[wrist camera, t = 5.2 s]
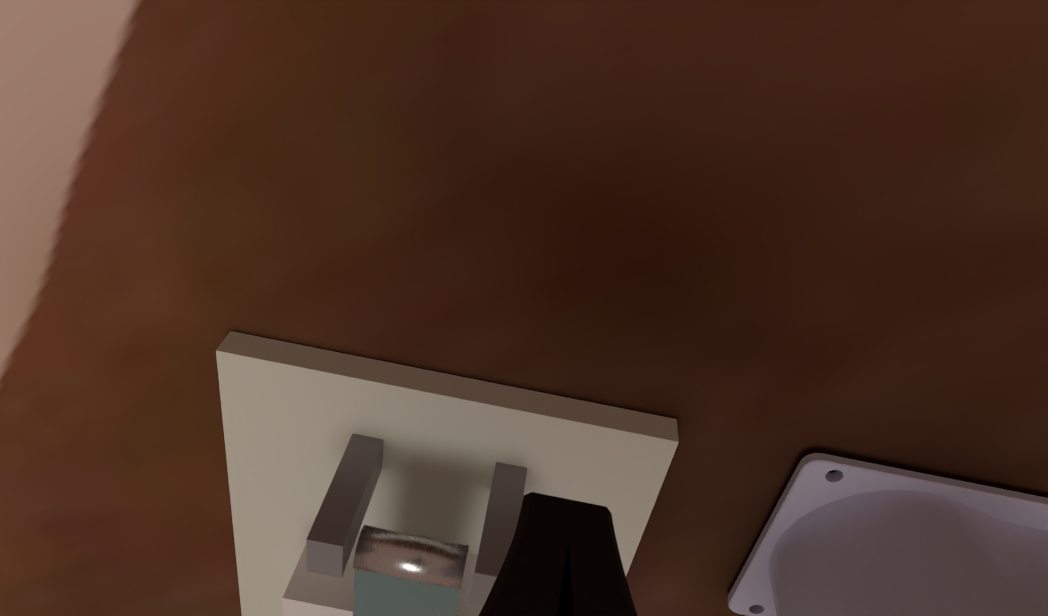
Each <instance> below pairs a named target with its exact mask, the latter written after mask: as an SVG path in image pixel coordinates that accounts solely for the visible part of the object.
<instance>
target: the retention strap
mask: <svg viewBox="0 0 1048 616" xmlns="http://www.w3.org/2000/svg"><path fill="white" fill-rule="evenodd" d="M468 549H469V545H464V544H459V543H454V542H449V541H444V540H439V539H434V538H429V537H424V536H419V535H414V534H409V533H404V532H399V531H394V530H389V529H383V528H378V527H373V526H368V525H364V526H363V528H362V530H361V533H360V535H359V539H358V542H357V546H356V550H355V555H354V561H353V569H355V576H354V597H353V616H456V612H457V607H458V601H459V596H460V591H461V585H462V580H463V575H464V569H465V564H466V559H467V554H468Z"/></svg>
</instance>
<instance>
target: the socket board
mask: <svg viewBox="0 0 1048 616" xmlns="http://www.w3.org/2000/svg"><path fill="white" fill-rule="evenodd" d="M216 356H217V366H218V376H219V387H220V397H221V407H222V417H223V428H224V438H225V448H226V458H227V469H228V479H229V489H230V499H231V509H232V520H233V530H234V540H235V550H236V561H237V571H238V581H239V591H240V602H241V612H242V616H353V597H354V576H355V569H353V561H354V555H355V550H356V546H357V542H358V539H359V535H360V533H361V530H362V528H363V526H364V525H368V526H373V527H378V528H383V529H389V530H394V531H399V532H404V533H409V534H414V535H419V536H424V537H429V538H434V539H439V540H444V541H449V542H454V543H459V544H464V545H469V549H468V554H467V559H466V564H465V569H464V575H463V580H462V585H461V591H460V596H459V601H458V607H457V612H456V616H478V615H479V614H480V612H481V610H482V608H483V606H484V604H485V602H486V600H487V597H488V595H489V593H490V591H491V589H492V587H493V585H494V582H495V580H496V578H497V576H498V574H499V572H500V569H501V567H502V565H503V563H504V560H505V558H506V555H507V553H508V550H509V548H510V545H511V543H512V540H513V537H514V534H515V530H516V526H517V522H518V518H519V514H520V509H521V505H522V501H523V497H524V495H526V494H528V493H531V492H535V493H540V494H545V495H550V496H555V497H560V498H565V499H570V500H575V501H580V502H585V503H590V504H595V505H601V506H606V507H607V508H608V509H609V511H610V512H611V514H612V520H613V526H614V531H615V536H616V540H617V545H618V549H619V553H620V557H621V561H622V565H623V569H624V573H625V576H626V575H627V572H628V570H629V567H630V565H631V562H632V560H633V557H634V555H635V552H636V550H637V547H638V545H639V542H640V539H641V537H642V534H643V532H644V529H645V527H646V524H647V522H648V519H649V517H650V514H651V511H652V509H653V506H654V504H655V501H656V499H657V496H658V494H659V491H660V489H661V486H662V483H663V481H664V478H665V476H666V473H667V471H668V468H669V466H670V463H671V461H672V458H673V456H674V453H675V450H676V448H677V445H678V443H679V439H678V428H677V419H673V418H668V417H663V416H658V415H653V414H648V413H643V412H638V411H633V410H628V409H623V408H618V407H613V406H608V405H602V404H597V403H592V402H587V401H582V400H577V399H572V398H567V397H562V396H557V395H552V394H547V393H542V392H537V391H532V390H527V389H521V388H516V387H511V386H506V385H501V384H496V383H491V382H486V381H481V380H476V379H471V378H466V377H461V376H456V375H451V374H446V373H440V372H435V371H430V370H425V369H420V368H415V367H410V366H405V365H400V364H395V363H390V362H385V361H380V360H375V359H370V358H365V357H360V356H354V355H349V354H344V353H339V352H334V351H329V350H324V349H319V348H314V347H309V346H304V345H299V344H294V343H289V342H284V341H279V340H273V339H268V338H263V337H258V336H253V335H248V334H243V333H238V332H233V331H230V333H229V334H228V335H227V337H226V338H225V339H224V341H223V342H222V343H221V345H220V346H219V347H218V349H217V350H216Z"/></svg>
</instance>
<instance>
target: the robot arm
mask: <svg viewBox="0 0 1048 616" xmlns="http://www.w3.org/2000/svg"><path fill="white" fill-rule="evenodd" d="M832 470H837V471H836V472H833V473H828V472H829V471H832ZM727 599H728V606H729V608H730V610H732V611H733V612H735V613H738V614H742V615H747V616H1048V498H1046V497H1040V496H1035V495H1030V494H1025V493H1020V492H1015V491H1010V490H1005V489H1000V488H995V487H990V486H985V485H980V484H975V483H970V482H965V481H960V480H954V479H949V478H944V477H939V476H934V475H929V474H924V473H919V472H914V471H909V470H904V469H899V468H894V467H889V466H884V465H879V464H873V463H868V462H863V461H858V460H853V459H848V458H843V457H838V456H833V455H828V454H823V453H813V454H809V455H807V456H805V457H803V458H802V459H801V461H800V462H799V464H798V466H797V468H796V469H795V471H794V473H793V475H792V477H791V479H790V481H789V483H788V484H787V486H786V488H785V490H784V492H783V494H782V496H781V497H780V499H779V501H778V503H777V505H776V507H775V509H774V511H773V512H772V514H771V516H770V518H769V520H768V522H767V524H766V526H765V527H764V529H763V531H762V533H761V535H760V537H759V539H758V540H757V542H756V544H755V546H754V548H753V550H752V552H751V554H750V555H749V557H748V559H747V561H746V563H745V565H744V567H743V568H742V570H741V572H740V574H739V576H738V578H737V580H736V582H735V583H734V585H733V587H732V589H731V591H730V593H729V595H728V598H727ZM478 616H637V613H636V610H635V607H634V604H633V601H632V597H631V594H630V591H629V587H628V584H627V580H626V576H625V573H624V569H623V565H622V561H621V557H620V553H619V549H618V545H617V540H616V536H615V531H614V526H613V520H612V514H611V512H610V511H609V509H608V508H607V507H606V506H601V505H595V504H590V503H585V502H580V501H575V500H570V499H565V498H560V497H555V496H550V495H545V494H540V493H535V492H531V493H528V494H526V495H524V497H523V501H522V505H521V509H520V514H519V518H518V522H517V526H516V530H515V534H514V537H513V540H512V543H511V545H510V548H509V550H508V553H507V555H506V558H505V560H504V563H503V565H502V567H501V569H500V572H499V574H498V576H497V578H496V580H495V582H494V585H493V587H492V589H491V591H490V593H489V595H488V597H487V600H486V602H485V604H484V606H483V608H482V610H481V612H480V614H479V615H478Z"/></svg>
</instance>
